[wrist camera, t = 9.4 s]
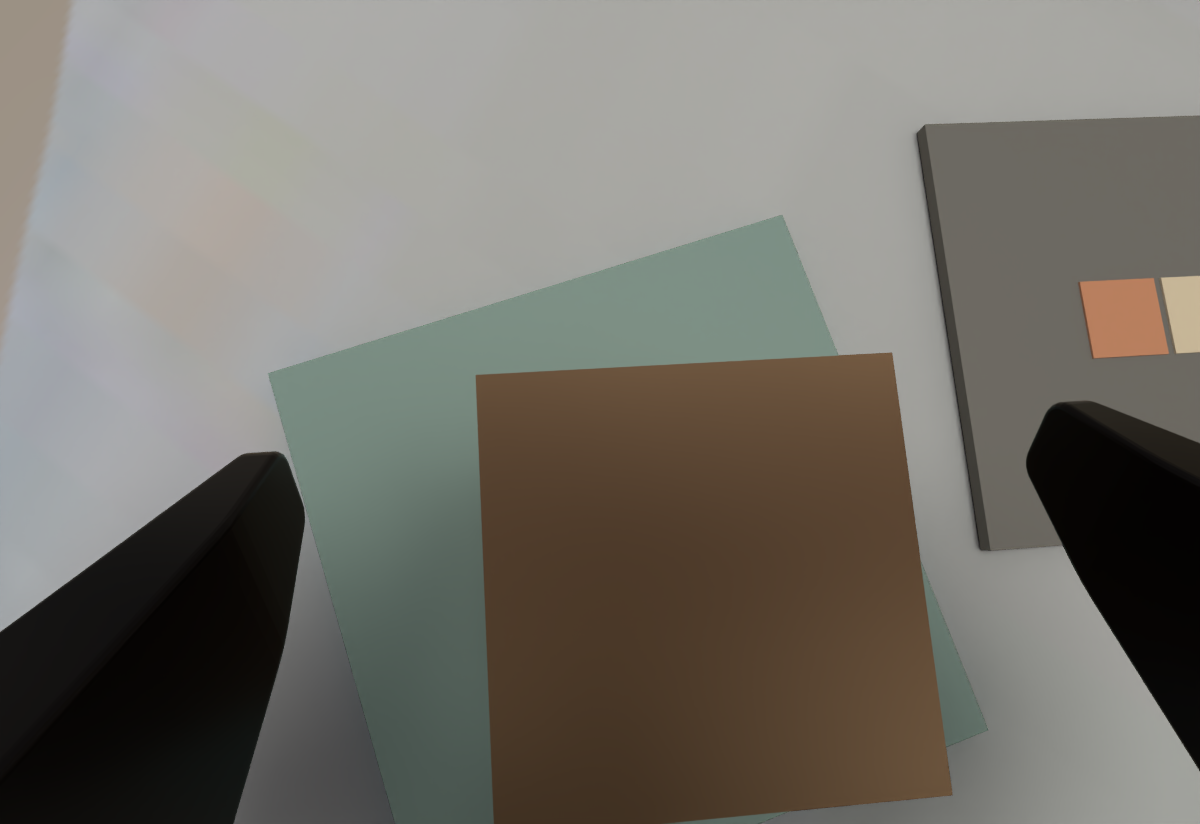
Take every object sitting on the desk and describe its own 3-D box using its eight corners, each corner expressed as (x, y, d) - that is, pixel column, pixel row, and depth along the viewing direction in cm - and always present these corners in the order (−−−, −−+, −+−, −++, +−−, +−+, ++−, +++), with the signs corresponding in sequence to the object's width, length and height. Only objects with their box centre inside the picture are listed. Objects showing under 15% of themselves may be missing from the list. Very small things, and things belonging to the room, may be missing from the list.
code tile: (1395, 518, 18) (1417, 518, 17) (980, 549, 17) (992, 550, 16) (1297, 120, 19) (1315, 110, 19) (917, 132, 19) (926, 123, 18)
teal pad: (975, 723, 16) (988, 729, 16) (436, 943, 15) (432, 957, 14) (775, 223, 18) (782, 214, 17) (276, 378, 17) (267, 373, 16)
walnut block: (730, 642, 16) (951, 794, 7) (531, 658, 15) (494, 840, 7) (712, 445, 16) (891, 352, 8) (521, 456, 16) (475, 374, 7)
